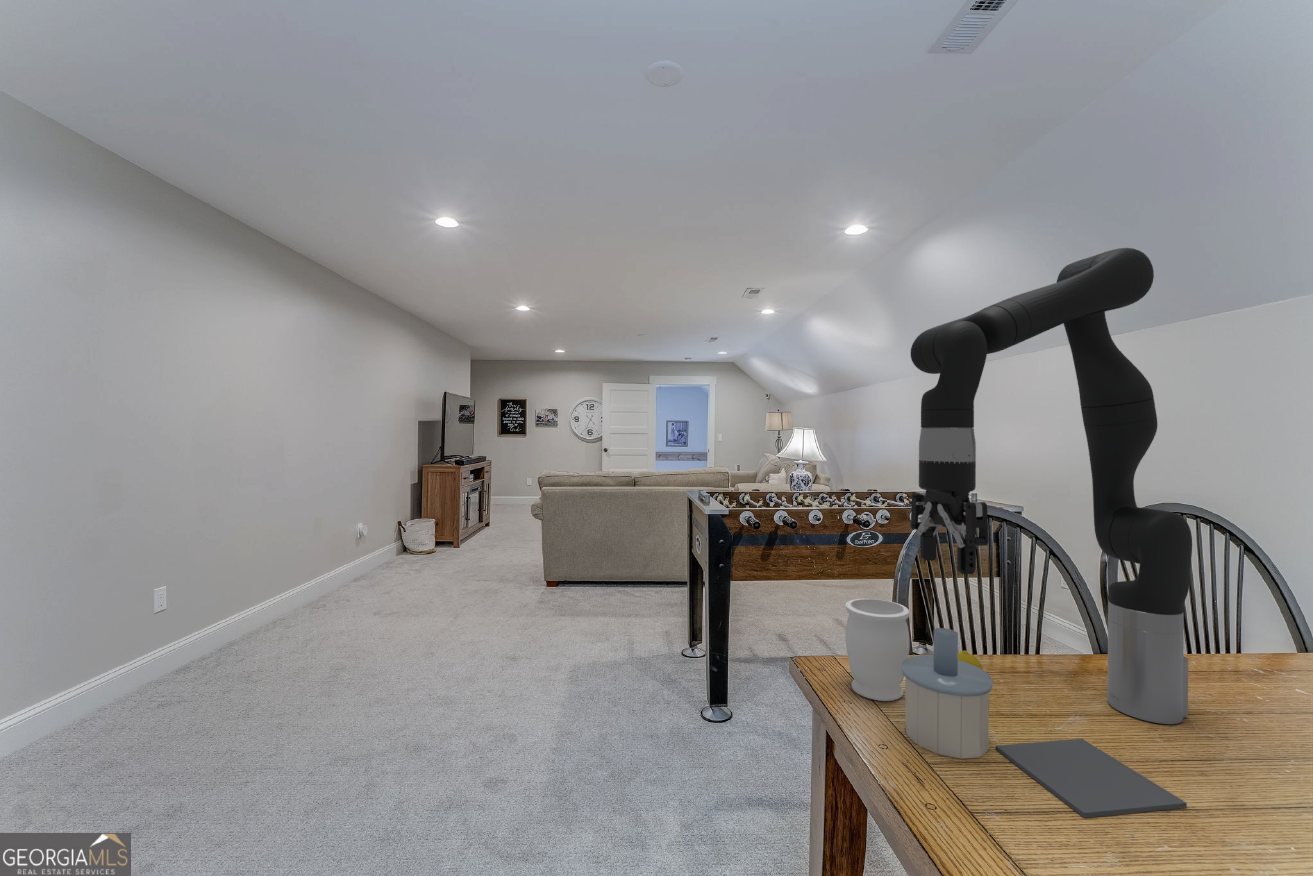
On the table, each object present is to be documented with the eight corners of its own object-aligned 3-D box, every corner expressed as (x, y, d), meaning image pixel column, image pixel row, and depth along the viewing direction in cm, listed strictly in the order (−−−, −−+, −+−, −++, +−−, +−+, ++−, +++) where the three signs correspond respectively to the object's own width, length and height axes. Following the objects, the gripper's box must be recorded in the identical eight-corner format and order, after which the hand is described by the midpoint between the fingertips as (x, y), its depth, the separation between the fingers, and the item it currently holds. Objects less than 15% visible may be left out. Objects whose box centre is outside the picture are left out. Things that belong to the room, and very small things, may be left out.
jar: (876, 710, 89) (876, 619, 89) (832, 684, 98) (832, 601, 98) (923, 698, 93) (923, 611, 93) (876, 673, 103) (876, 595, 103)
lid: (955, 658, 88) (955, 616, 88) (1012, 693, 76) (1013, 645, 76) (886, 662, 86) (886, 620, 86) (933, 698, 74) (934, 649, 74)
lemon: (989, 706, 90) (989, 658, 90) (952, 703, 91) (953, 656, 91) (976, 691, 96) (976, 645, 96) (942, 688, 97) (942, 643, 97)
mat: (1082, 742, 80) (1082, 738, 80) (1186, 807, 66) (1186, 802, 66) (995, 749, 78) (995, 745, 78) (1084, 818, 64) (1084, 813, 64)
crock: (954, 715, 87) (954, 660, 87) (1005, 755, 77) (1005, 691, 76) (891, 720, 86) (891, 663, 86) (934, 761, 75) (935, 696, 75)
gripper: (1005, 460, 74) (1005, 578, 74) (939, 456, 88) (938, 555, 89) (955, 460, 73) (955, 580, 74) (896, 456, 88) (895, 556, 88)
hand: (946, 566), depth 81 cm, fingers open, 8 cm apart
